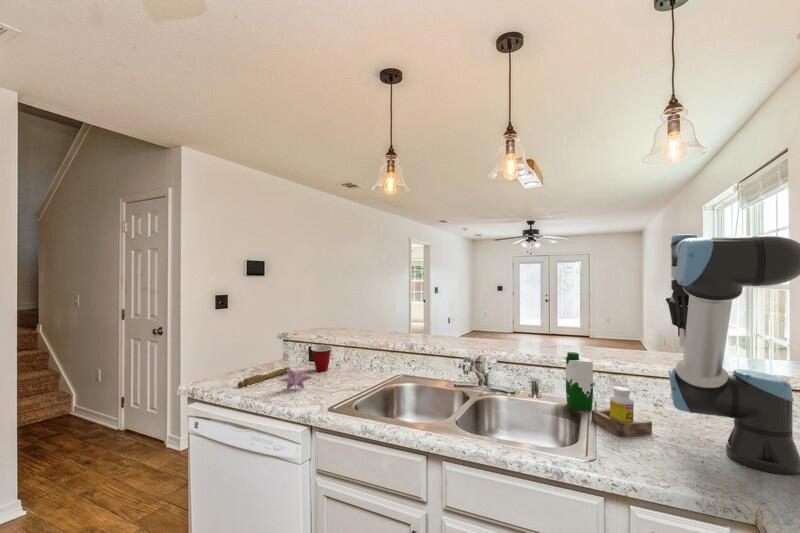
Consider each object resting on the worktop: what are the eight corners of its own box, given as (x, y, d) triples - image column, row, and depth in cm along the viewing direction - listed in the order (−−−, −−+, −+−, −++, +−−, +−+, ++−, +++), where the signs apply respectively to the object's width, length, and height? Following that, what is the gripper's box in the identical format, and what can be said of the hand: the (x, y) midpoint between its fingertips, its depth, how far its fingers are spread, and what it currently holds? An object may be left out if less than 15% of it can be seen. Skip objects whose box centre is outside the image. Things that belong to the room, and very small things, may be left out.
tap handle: (290, 367, 198) (241, 382, 172) (290, 373, 198) (241, 389, 172) (286, 366, 200) (236, 381, 173) (286, 372, 200) (236, 388, 173)
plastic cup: (307, 372, 197) (307, 348, 197) (315, 367, 208) (315, 344, 208) (328, 373, 196) (328, 349, 196) (335, 368, 206) (335, 345, 206)
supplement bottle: (627, 434, 124) (627, 392, 124) (606, 427, 129) (605, 387, 130) (637, 429, 128) (637, 389, 128) (616, 422, 133) (616, 384, 133)
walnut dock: (620, 417, 137) (620, 407, 137) (651, 433, 125) (651, 421, 125) (591, 420, 135) (591, 410, 135) (620, 436, 122) (620, 425, 122)
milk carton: (564, 402, 153) (563, 350, 154) (589, 404, 152) (589, 351, 152) (568, 410, 145) (568, 355, 145) (595, 412, 143) (595, 356, 143)
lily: (316, 392, 170) (313, 369, 175) (302, 388, 160) (300, 365, 165) (291, 399, 172) (289, 377, 177) (276, 396, 162) (274, 372, 167)
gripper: (711, 279, 132) (711, 350, 132) (676, 278, 145) (676, 343, 145) (693, 279, 131) (693, 351, 131) (659, 278, 144) (659, 344, 143)
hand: (684, 347), depth 138 cm, fingers closed
